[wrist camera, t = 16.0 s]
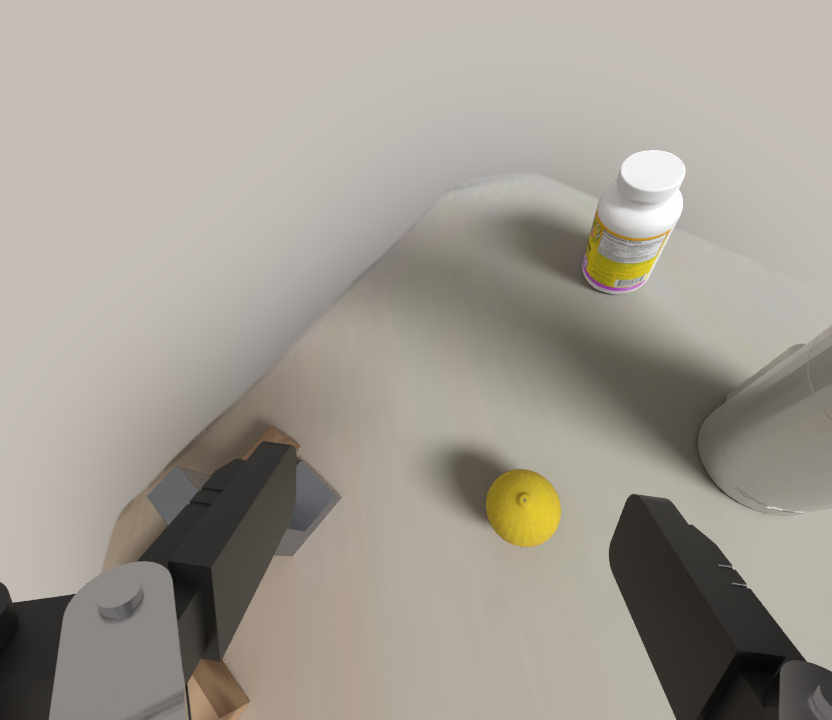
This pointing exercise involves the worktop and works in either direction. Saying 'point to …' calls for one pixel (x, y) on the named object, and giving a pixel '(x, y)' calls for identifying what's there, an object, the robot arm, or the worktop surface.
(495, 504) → the lemon
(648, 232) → the supplement bottle
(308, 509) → the angle bracket
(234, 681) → the wooden l-shaped block
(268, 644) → the worktop surface
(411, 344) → the worktop surface
